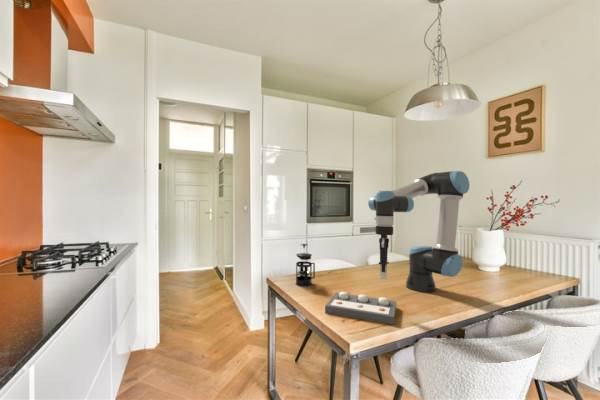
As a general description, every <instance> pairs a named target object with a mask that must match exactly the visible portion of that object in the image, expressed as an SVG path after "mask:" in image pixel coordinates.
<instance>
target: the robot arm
mask: <svg viewBox="0 0 600 400" xmlns="http://www.w3.org/2000/svg"><path fill="white" fill-rule="evenodd" d="M469 190H470V180H469V177H468V176H467V174H466V173H465V172H464V171H462V170H451V171H443V172H433V173H429V174H427V175H424V176H422V177H418V178H417V179H415V180H414V181H413V182H412V183H409V184H407V185H403V186H402V187H398V188H396V189H393V190H378V191H376V195H374V196H371V197H370V198H369V199H368V207H369V209H370V210H371V211H375V217H374V220H375V224H376V226H375V234H376V235H380V238H379V240H378V242H379V262H378V265H380V267H379V269H380V270H379V279H380V280H388V264H389V262H388V251H389V250H388V249H389V243H390V238H388V236H393V235H394V227H393V225H394V224H395V223H394V222H395V221H394V217H395V216H394V213H408V212H409V213H410V212H411V211H412V210H413V209H414V206H415V202H414V199H413V198H416V197H419V196H420V197H421V196H425V195H435V194H436V195H437V197H438V198H439V199H440V201H439V203H440V204H439V214H438V222H437V223H438V224H437V234H436V235H437V236H436V244H435V245H434V246H433V247H432V246H428V245H425V246H424V245H423V246H411V247H410V248H409V254H408V255H409V257H408V259H409V273H408V276H407V279H406V281H405V287H406V288H408V289H409V290H412V291H416V292H420V293H431V292H436V283H435V282H436V281H435V279H434V276H433V274H438V275H441V276H443V277H450V278H452V277H453V278H454V277H456V276H458V275H459V274H460V272H461V270H462V268H463V263H464V261H463V257H462V256H461V255H460V254H459V250H458V249H457V247H456V240H457V229H458V220H459V219H458V218H459V207H460V201H461V200H462V199H463V198H464V194H467V193H468V192H469Z"/></svg>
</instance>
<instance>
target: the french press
mask: <svg viewBox="0 0 600 400" xmlns="http://www.w3.org/2000/svg"><path fill="white" fill-rule="evenodd" d="M300 246H303V247H302V248H303V249H305V248H306V246H308V244H307V243H300ZM312 256H313V255H312V254H311V253H308V252H307V253H305V252H301V253H296V257H297V258H299V260H301V261H297V262H296V264H295V268H296V269H295V285H296V286H298V287H299V286H300V287H308V286H311V285H312V284H313V282H312V279H315V277H316V273H315V269H316V266H315V265H316V264H315V262H311V261H309V260H311V259H312ZM312 265H313V266H312ZM298 267H299V268H300V269H299V271H298ZM309 267H310V271H308V270H309V269H308V268H309ZM312 268H313V269H312ZM312 270H313V271H312ZM312 273H313V274H312ZM312 275H313V276H312Z"/></svg>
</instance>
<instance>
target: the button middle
mask: <svg viewBox="0 0 600 400" xmlns="http://www.w3.org/2000/svg"><path fill="white" fill-rule="evenodd" d="M357 296H358V302H364V303H368V297H369V295H367V294H362V293H361V294H358V295H357Z"/></svg>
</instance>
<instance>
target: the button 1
mask: <svg viewBox="0 0 600 400" xmlns="http://www.w3.org/2000/svg"><path fill="white" fill-rule="evenodd" d="M338 293H339V299H344V300H348V295H350V294H349V292H347V291H340V292H338Z"/></svg>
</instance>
